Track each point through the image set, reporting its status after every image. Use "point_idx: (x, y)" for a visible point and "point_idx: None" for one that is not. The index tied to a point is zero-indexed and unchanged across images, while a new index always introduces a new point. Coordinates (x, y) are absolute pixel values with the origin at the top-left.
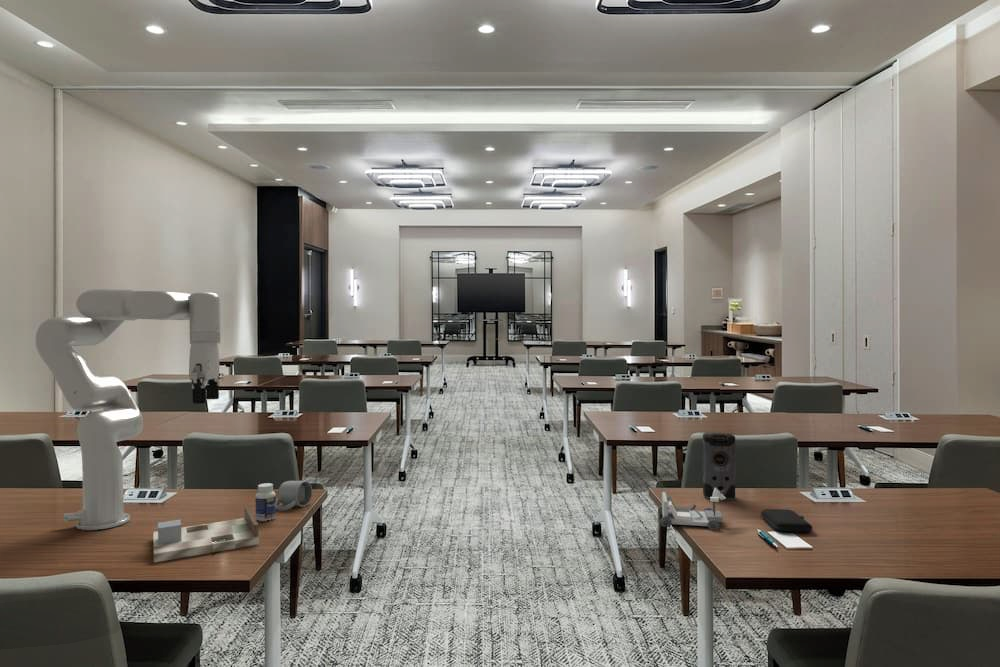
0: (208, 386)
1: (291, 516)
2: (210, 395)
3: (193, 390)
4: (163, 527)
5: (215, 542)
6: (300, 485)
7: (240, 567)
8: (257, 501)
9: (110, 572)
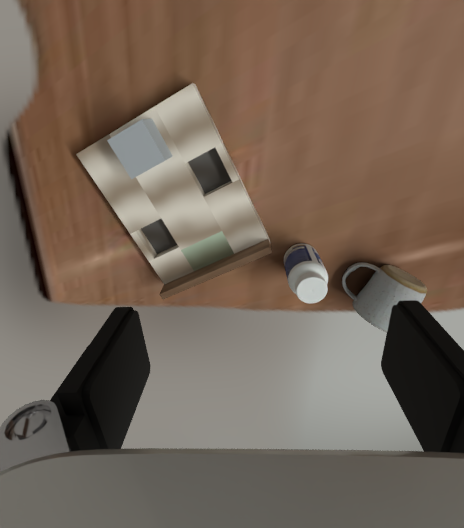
0: (448, 399)
1: None
2: (400, 345)
3: (69, 383)
4: (113, 149)
5: (138, 235)
6: (372, 324)
7: (85, 284)
8: (292, 265)
9: (33, 96)
